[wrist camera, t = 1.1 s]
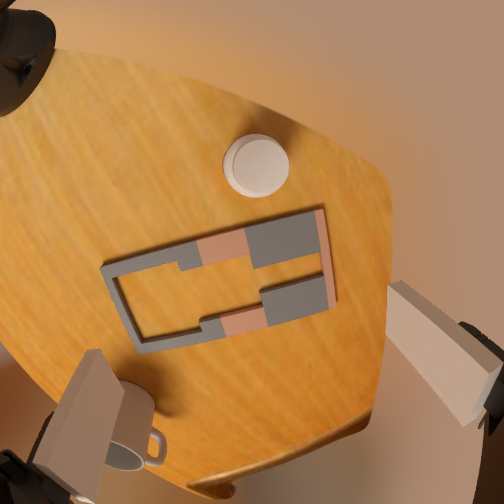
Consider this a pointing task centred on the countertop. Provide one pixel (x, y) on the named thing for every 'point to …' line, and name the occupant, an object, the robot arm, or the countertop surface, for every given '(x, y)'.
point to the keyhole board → (262, 254)
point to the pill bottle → (255, 165)
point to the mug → (134, 432)
